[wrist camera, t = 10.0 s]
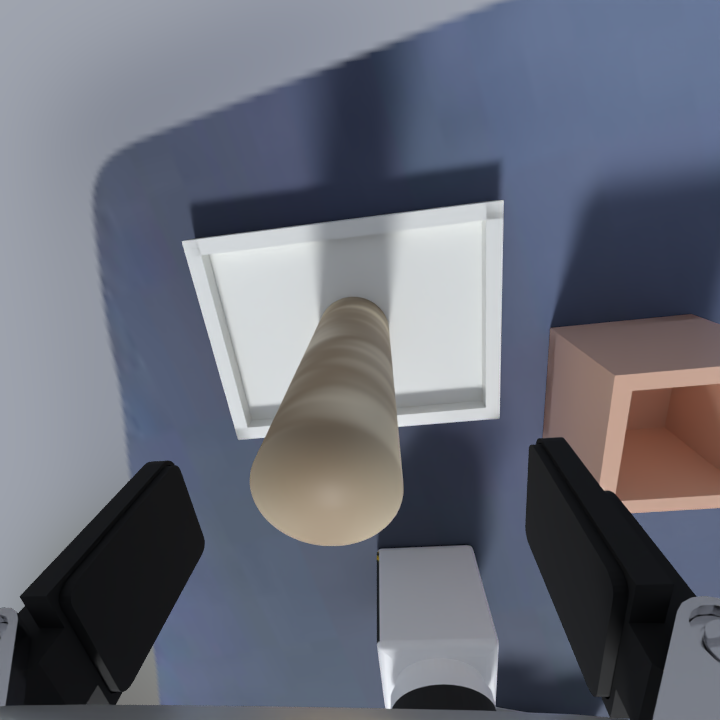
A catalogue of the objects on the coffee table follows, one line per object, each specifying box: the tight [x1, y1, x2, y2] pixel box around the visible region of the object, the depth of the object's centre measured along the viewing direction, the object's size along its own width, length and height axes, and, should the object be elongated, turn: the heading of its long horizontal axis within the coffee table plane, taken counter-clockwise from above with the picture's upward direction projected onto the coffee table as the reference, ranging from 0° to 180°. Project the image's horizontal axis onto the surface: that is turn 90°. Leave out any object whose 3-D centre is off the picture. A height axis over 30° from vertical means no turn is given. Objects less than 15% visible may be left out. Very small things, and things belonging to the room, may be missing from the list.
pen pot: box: [543, 314, 720, 513], centre depth 20 cm, size 8×8×6 cm
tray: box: [182, 200, 504, 440], centre depth 22 cm, size 16×12×2 cm
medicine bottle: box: [377, 545, 499, 711], centre depth 25 cm, size 7×7×12 cm
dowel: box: [250, 297, 403, 546], centre depth 16 cm, size 4×4×13 cm
